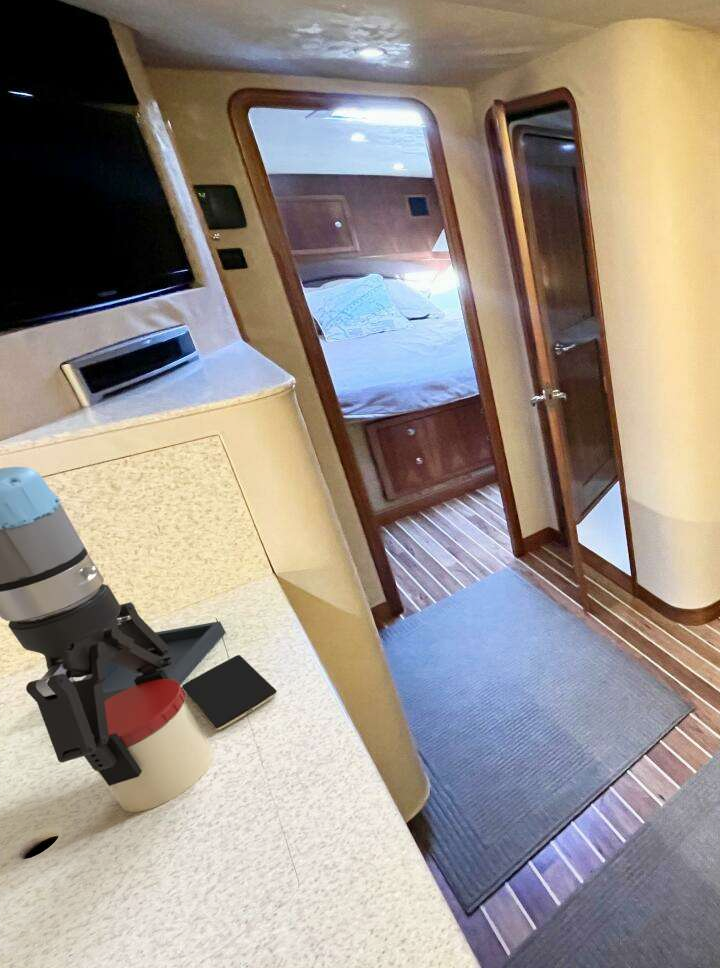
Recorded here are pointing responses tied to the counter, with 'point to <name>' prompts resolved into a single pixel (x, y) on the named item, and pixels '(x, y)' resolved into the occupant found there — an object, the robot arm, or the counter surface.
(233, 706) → the smartphone
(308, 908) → the counter surface
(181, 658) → the tray
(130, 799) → the jar
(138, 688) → the lid
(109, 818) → the counter surface
